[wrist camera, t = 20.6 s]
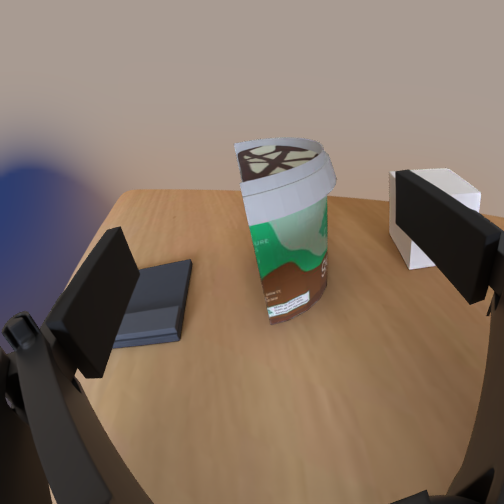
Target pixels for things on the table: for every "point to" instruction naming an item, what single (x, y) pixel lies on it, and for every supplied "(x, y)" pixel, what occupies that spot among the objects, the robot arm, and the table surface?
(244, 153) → the food container
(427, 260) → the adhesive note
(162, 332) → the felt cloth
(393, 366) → the table surface
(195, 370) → the table surface
